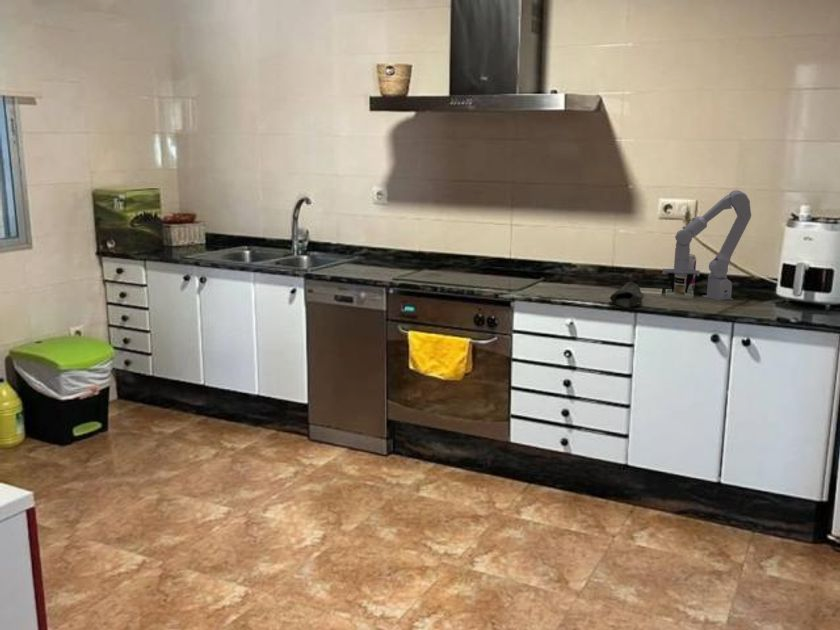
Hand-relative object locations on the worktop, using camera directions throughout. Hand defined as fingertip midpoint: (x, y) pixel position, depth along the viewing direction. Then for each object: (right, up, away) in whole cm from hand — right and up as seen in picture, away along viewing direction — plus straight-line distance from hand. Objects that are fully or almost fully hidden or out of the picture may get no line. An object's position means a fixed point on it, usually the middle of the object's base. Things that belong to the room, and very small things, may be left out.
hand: (679, 291), depth 341 cm
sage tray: (0, -2, 0) cm, 2 cm away
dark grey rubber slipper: (-23, -5, -9) cm, 26 cm away
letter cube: (0, -1, 0) cm, 1 cm away
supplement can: (+7, +1, +16) cm, 17 cm away
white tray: (-12, -1, +4) cm, 13 cm away
